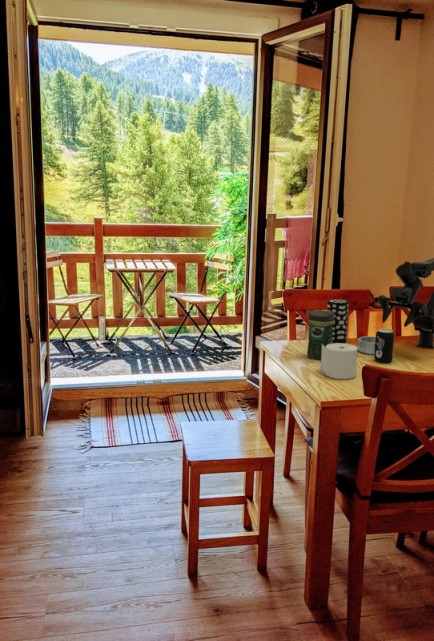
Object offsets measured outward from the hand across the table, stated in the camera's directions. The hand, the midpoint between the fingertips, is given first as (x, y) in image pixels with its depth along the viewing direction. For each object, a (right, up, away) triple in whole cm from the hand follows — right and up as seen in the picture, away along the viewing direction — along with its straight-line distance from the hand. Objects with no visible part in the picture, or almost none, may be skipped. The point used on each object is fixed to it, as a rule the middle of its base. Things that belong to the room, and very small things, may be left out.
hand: (393, 324), depth 207 cm
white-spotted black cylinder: (-19, -11, +14) cm, 26 cm away
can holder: (-5, -11, +11) cm, 16 cm away
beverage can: (-5, -14, -2) cm, 15 cm away
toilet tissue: (-25, -18, -18) cm, 35 cm away
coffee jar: (-28, -13, +3) cm, 31 cm away
